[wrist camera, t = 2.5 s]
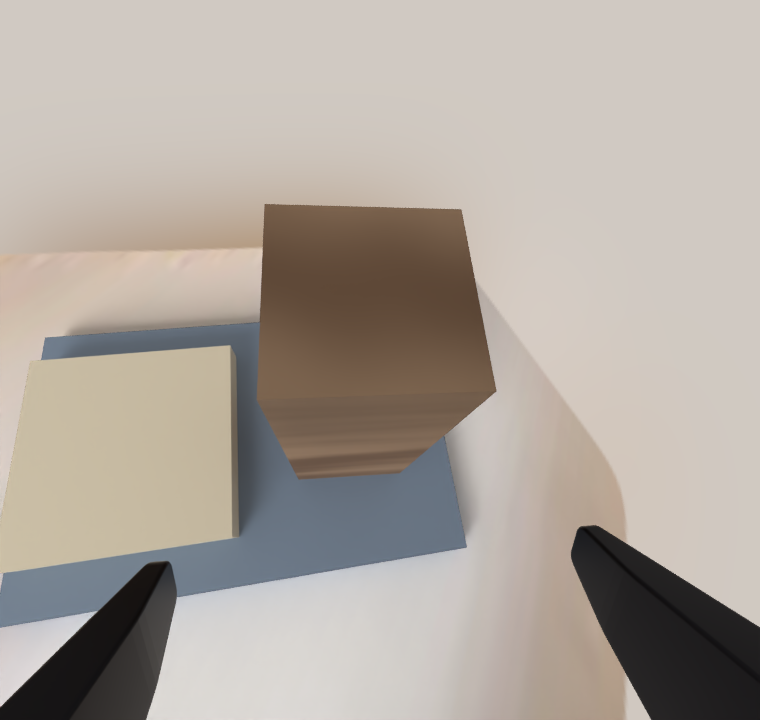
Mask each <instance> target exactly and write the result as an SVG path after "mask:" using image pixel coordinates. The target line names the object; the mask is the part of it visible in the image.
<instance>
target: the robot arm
mask: <svg viewBox="0 0 760 720" xmlns="http://www.w3.org/2000/svg"><path fill="white" fill-rule="evenodd" d="M571 559H572V562H573V565H574V567H575V570H576V572H577V574H578V576H579V579H580V581H581V583H582V586H583V588H584V590H585V592H586V595H587V597H588V599H589V601H590V604H591V606H592V608H593V610H594V613H595V615H596V617H597V620H598V622H599V624H600V626H601V628H602V630H603V632H604V634H605V636H606V638H607V640H608V642H609V644H610V645H611V647H612V649H613V651H614V653H615V655H616V656H617V658H618V660H619V662H620V664H621V665H622V667H623V669H624V671H625V673H626V675H627V676H628V678H629V680H630V682H631V684H632V685H633V687H634V689H635V691H636V693H637V695H638V696H639V698H640V700H641V702H642V704H643V705H644V707H645V709H646V711H647V713H648V714H649V716H650V718H651V720H760V627H759V626H757V625H755V624H754V623H752V622H750V621H749V620H747V619H746V618H744V617H742V616H741V615H739V614H738V613H736V612H735V611H733V610H731V609H730V608H728V607H727V606H725V605H723V604H722V603H720V602H719V601H717V600H715V599H714V598H712V597H711V596H709V595H708V594H706V593H704V592H702V591H701V590H700V589H698V588H696V587H695V586H693V585H692V584H690V583H688V582H687V581H685V580H684V579H682V578H680V577H679V576H677V575H676V574H674V573H672V572H671V571H669V570H668V569H666V568H664V567H663V566H661V565H660V564H658V563H657V562H655V561H653V560H652V559H650V558H648V557H647V556H645V555H643V554H642V553H641V552H639V551H637V550H636V549H634V548H633V547H631V546H629V545H628V544H626V543H625V542H623V541H621V540H620V539H618V538H617V537H615V536H613V535H612V534H610V533H609V532H607V531H606V530H604V529H602V528H601V527H599V526H595V525H591V526H581V527H579V528H578V530H577V533H576V536H575V540H574V543H573V547H572V551H571ZM176 599H177V587H176V583H175V578H174V574H173V569H172V565H171V563H170V562H169V561H156V562H149V563H147V564H146V565H144V566H143V567H142V568H141V569H140V570H139V571H138V572H137V573H136V574H135V575H134V576H133V577H132V578H131V579H130V580H129V581H128V582H127V583H126V584H125V585H124V586H123V587H122V588H121V589H120V590H119V591H118V592H117V593H116V594H115V595H114V596H113V597H112V598H111V599H110V600H109V601H108V602H107V603H106V604H105V605H104V606H103V607H102V608H101V609H100V610H99V611H98V612H97V613H96V614H95V615H94V616H92V617H91V618H90V619H89V620H88V621H87V622H86V623H85V624H84V625H83V626H82V627H81V628H80V629H79V630H78V631H77V632H76V633H75V634H74V635H73V636H72V637H71V638H70V639H69V640H68V641H67V642H66V643H65V644H64V645H63V646H62V647H61V648H60V649H59V650H58V651H57V652H56V653H55V654H54V655H53V656H52V657H51V658H50V659H49V660H48V661H47V662H46V663H45V664H44V665H43V666H42V667H41V668H40V669H39V670H38V671H37V672H35V673H34V674H33V675H32V676H31V677H30V678H29V679H28V680H27V681H26V682H25V683H24V684H23V685H22V686H21V687H20V688H19V689H18V690H17V691H16V692H15V693H14V694H13V695H12V696H11V697H10V698H9V699H8V700H7V701H6V702H5V703H4V704H3V705H2V706H1V707H0V720H146V718H147V715H148V712H149V709H150V706H151V703H152V700H153V696H154V693H155V690H156V686H157V683H158V678H159V674H160V670H161V666H162V661H163V657H164V653H165V648H166V644H167V639H168V635H169V631H170V626H171V622H172V617H173V613H174V608H175V604H176Z"/></svg>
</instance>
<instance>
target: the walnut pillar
mask: <svg viewBox="0 0 760 720" xmlns="http://www.w3.org/2000/svg"><path fill="white" fill-rule="evenodd" d="M495 392H496V387H495V382H494V376H493V371H492V366H491V361H490V356H489V350H488V345H487V340H486V335H485V330H484V324H483V319H482V314H481V309H480V304H479V299H478V293H477V288H476V283H475V278H474V273H473V267H472V262H471V257H470V252H469V247H468V241H467V236H466V231H465V226H464V221H463V215H462V211H461V210H459V209H424V208H387V207H349V206H311V205H275V204H271V205H270V204H265V211H264V234H263V258H262V282H261V307H260V331H259V356H258V380H257V401H258V403H259V405H260V407H261V409H262V411H263V413H264V415H265V417H266V419H267V420H268V422H269V424H270V426H271V428H272V430H273V432H274V434H275V436H276V438H277V439H278V441H279V443H280V445H281V447H282V449H283V451H284V453H285V455H286V457H287V458H288V460H289V462H290V464H291V466H292V468H293V470H294V472H295V474H296V476H297V477H298V479H299V480H301V479H317V478H333V477H349V476H365V475H381V474H397V473H401V472H402V471H403V470H404V469H405V468H406V467H408V466H409V465H410V464H411V463H412V462H413V461H415V460H416V459H417V458H418V457H419V456H421V455H422V454H423V453H424V452H425V451H426V450H428V449H429V448H430V447H431V446H432V445H433V444H435V443H436V442H437V441H438V440H439V439H441V438H442V437H443V436H444V435H445V434H446V433H448V432H449V431H450V430H451V429H452V428H454V427H455V426H456V425H457V424H458V423H459V422H461V421H462V420H463V419H464V418H465V417H466V416H468V415H469V414H470V413H471V412H472V411H474V410H475V409H476V408H477V407H478V406H479V405H481V404H482V403H483V402H484V401H485V400H487V399H488V398H489V397H490V396H491V395H492V394H494V393H495Z"/></svg>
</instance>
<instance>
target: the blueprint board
mask: <svg viewBox="0 0 760 720" xmlns="http://www.w3.org/2000/svg"><path fill="white" fill-rule="evenodd" d="M259 331H260V322H258V323H244V324H230V325H216V326H202V327H188V328H174V329H160V330H146V331H132V332H118V333H104V334H90V335H76V336H62V337H48V338H45V341H44V347H43V353H42V358H41V360H38V361H30V365H29V370H28V376H27V381H26V386H25V392H24V397H23V402H22V408H21V413H20V418H19V424H18V429H17V434H16V440H15V445H14V451H13V456H12V461H11V467H10V472H9V477H8V483H7V488H6V493H5V499H4V504H3V509H2V515H1V520H0V573H4V574H3V580H2V585H1V591H0V628H1V627H6V626H12V625H18V624H24V623H30V622H36V621H41V620H47V619H53V618H59V617H65V616H71V615H76V614H82V613H88V612H94V611H99V610H100V609H101V608H102V607H103V606H104V605H105V604H106V603H107V602H108V601H109V600H110V599H111V598H112V597H113V596H114V595H115V594H116V593H117V592H118V591H119V590H120V589H121V588H122V587H123V586H124V585H125V584H126V583H127V582H128V581H129V580H130V579H131V578H132V577H133V576H134V575H135V574H136V573H137V572H138V571H139V570H140V569H141V568H142V567H143V566H144V565H146V564H147V563H149V562H156V561H169V562H170V563H171V565H172V569H173V574H174V578H175V583H176V587H177V597H181V596H187V595H193V594H199V593H205V592H210V591H216V590H222V589H228V588H234V587H240V586H245V585H251V584H257V583H263V582H269V581H274V580H280V579H286V578H292V577H298V576H304V575H309V574H315V573H321V572H327V571H333V570H339V569H344V568H350V567H356V566H362V565H368V564H374V563H379V562H385V561H391V560H397V559H403V558H408V557H414V556H420V555H426V554H432V553H438V552H443V551H449V550H455V549H461V548H467V546H466V541H465V536H464V531H463V526H462V521H461V516H460V511H459V506H458V502H457V497H456V492H455V487H454V482H453V477H452V472H451V467H450V462H449V458H448V453H447V448H446V443H445V438H444V436H443V437H442V438H441V439H439V440H438V441H437V442H436V443H435V444H433V445H432V446H431V447H430V448H429V449H428V450H426V451H425V452H424V453H423V454H422V455H421V456H419V457H418V458H417V459H416V460H415V461H413V462H412V463H411V464H410V465H409V466H408V467H406V468H405V469H404V470H403V471H402V472H401V473H397V474H381V475H365V476H349V477H333V478H317V479H301V480H299V479H298V477H297V476H296V474H295V472H294V470H293V468H292V466H291V464H290V462H289V460H288V458H287V457H286V455H285V453H284V451H283V449H282V447H281V445H280V443H279V441H278V439H277V438H276V436H275V434H274V432H273V430H272V428H271V426H270V424H269V422H268V420H267V419H266V417H265V415H264V413H263V411H262V409H261V407H260V405H259V403H258V401H257V380H258V356H259Z"/></svg>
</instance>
